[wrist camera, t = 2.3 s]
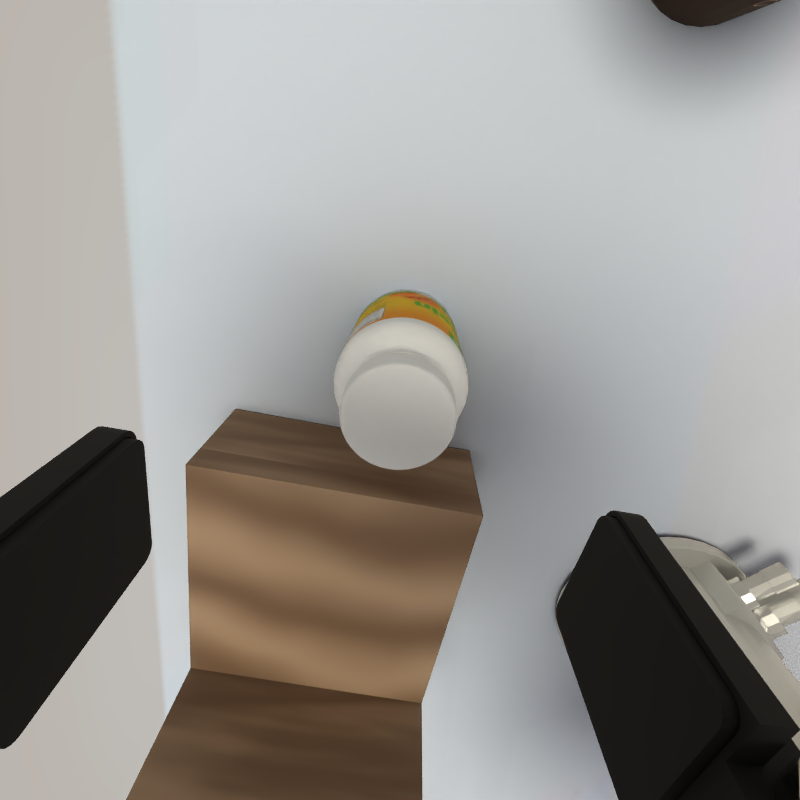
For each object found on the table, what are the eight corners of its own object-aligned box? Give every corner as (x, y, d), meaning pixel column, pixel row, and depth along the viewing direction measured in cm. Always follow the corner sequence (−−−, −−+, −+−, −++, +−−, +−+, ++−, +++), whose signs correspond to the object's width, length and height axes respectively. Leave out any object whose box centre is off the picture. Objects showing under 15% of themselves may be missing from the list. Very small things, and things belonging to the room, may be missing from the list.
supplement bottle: (476, 342, 23) (513, 425, 14) (402, 403, 25) (395, 513, 16) (408, 265, 22) (401, 306, 13) (334, 336, 23) (284, 415, 14)
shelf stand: (235, 408, 25) (50, 614, 13) (469, 450, 26) (519, 688, 13) (229, 601, 32) (104, 866, 19) (416, 631, 32) (416, 908, 20)
